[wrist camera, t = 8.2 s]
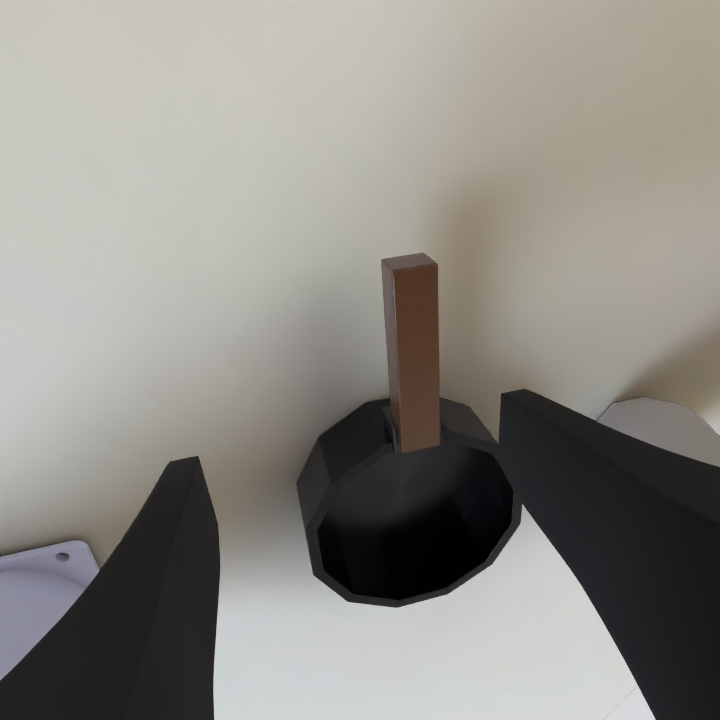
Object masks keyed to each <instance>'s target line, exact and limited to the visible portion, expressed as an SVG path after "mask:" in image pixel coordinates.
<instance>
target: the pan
mask: <svg viewBox="0 0 720 720" xmlns="http://www.w3.org/2000/svg"><path fill="white" fill-rule="evenodd" d="M381 266H382V282H383V297H384V312H385V328H386V343H387V358H388V374H389V389H390V398H388V399H383V400H378V401H373V402H368V403H365V404H363V405H362V406H361V407H359V408H358V409H356V410H355V411H354V412H352V413H351V414H350V415H348V416H347V417H346V418H344V419H343V420H341V421H340V422H339V423H337V424H336V425H335V426H333V427H332V428H330V429H329V430H328V431H326V432H325V433H324V434H322V435H321V436H320V437H319V438H318V439H317V441H316V444H315V446H314V448H313V450H312V452H311V454H310V456H309V458H308V460H307V462H306V464H305V466H304V468H303V470H302V472H301V474H300V476H299V479H298V481H297V484H296V485H297V491H298V496H299V501H300V507H301V512H302V518H303V523H304V529H305V534H306V539H307V545H308V550H309V555H310V560H311V566H312V571H313V574H314V576H315V577H317V578H318V579H319V580H321V581H322V582H323V583H324V584H326V585H327V586H328V587H330V588H331V589H332V590H333V591H335V592H336V593H337V594H339V595H340V596H341V597H342V598H344V599H345V600H346V601H348V602H354V603H362V604H370V605H379V606H387V607H395V608H396V607H397V608H398V607H401V606H405V605H409V604H413V603H416V602H420V601H424V600H427V599H431V598H435V597H439V596H442V595H446V594H448V593H450V592H452V591H453V590H455V589H456V588H458V587H459V586H461V585H462V584H464V583H465V582H466V581H468V580H469V579H471V578H472V577H474V576H475V575H477V574H478V573H480V572H481V571H483V570H484V569H486V568H487V567H489V566H490V565H492V564H493V562H494V561H495V560H496V558H497V557H498V555H499V554H500V552H501V551H502V549H503V548H504V547H505V545H506V544H507V542H508V541H509V539H510V538H511V536H512V535H513V533H514V532H515V531H516V529H517V528H518V526H519V525H520V523H521V511H522V502H521V501H520V499H519V498H518V497H517V495H516V493H515V492H514V490H513V488H512V486H511V485H510V483H509V481H508V479H507V477H506V475H505V473H504V472H503V470H502V468H501V466H500V464H499V462H498V445H499V444H498V443H497V441H496V440H495V439H494V438H493V436H492V435H491V434H490V433H489V431H488V430H487V429H486V427H485V426H484V425H483V424H482V422H481V421H480V420H479V418H478V417H477V416H476V415H475V413H474V412H473V411H472V409H471V408H470V407H469V406H466V405H463V404H459V403H456V402H453V401H450V400H447V399H443V398H440V397H439V323H438V264H437V263H436V262H435V261H433V260H432V259H431V258H430V257H429V256H427V255H426V254H425V253H419V254H412V255H406V256H399V257H393V258H386V259H382V260H381Z"/></svg>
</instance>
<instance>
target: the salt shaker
mask: <svg viewBox="0 0 720 720" xmlns="http://www.w3.org/2000/svg"><path fill="white" fill-rule="evenodd" d="M597 422H599V423H601V424H603V425H606V426H608V427H610V428H613V429H615V430H617V431H620V432H622V433H624V434H627V435H629V436H632V437H634V438H637V439H639V440H642V441H644V442H647V443H649V444H652V445H654V446H657V447H660V448H663V449H665V450H668V451H671V452H674V453H677V454H680V455H683V456H686V457H689V458H692V459H695V460H698V461H701V462H705V463H708V464H712V465H715V466H718V467H720V436H719V435H718V434H717V433H716V432H715V431H714V430H713V429H712V427H711V426H710V425H709V424H708V423H707V422H706V421H705V420H704V419H703V418H701V417H700V416H699V415H697V414H696V413H694V412H693V411H692V410H690V409H689V408H687V407H685V406H682V405H680V404H677V403H672V402H667V401H662V400H657V399H652V398H647V397H640V398H635V399H630V400H625V401H620V402H616V403H612V404H611V405H610V406H609V408H608V409H607V410H606V411H605V412H604V413H603V414H602V416H601V417H600V418H599V419H598V420H597Z"/></svg>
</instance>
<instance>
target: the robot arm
mask: <svg viewBox="0 0 720 720" xmlns="http://www.w3.org/2000/svg"><path fill="white" fill-rule="evenodd" d="M498 462H499V464H500V466H501V468H502V470H503V472H504V473H505V475H506V477H507V479H508V481H509V483H510V485H511V486H512V488H513V490H514V492H515V493H516V495H517V497H518V498H519V499H520V501H521V502H522V504H523V505H524V506H525V508H526V509H527V511H528V512H529V513H530V515H531V516H532V517H533V519H534V520H535V522H536V523H537V524H538V526H539V527H540V528H541V530H542V531H543V532H544V534H545V535H546V536H547V538H548V539H549V541H550V542H551V543H552V545H553V546H554V547H555V549H556V550H557V551H558V553H559V554H560V555H561V557H562V558H563V560H564V561H565V562H566V564H567V565H568V566H569V568H570V569H571V570H572V572H573V573H574V575H575V576H576V578H577V579H578V581H579V582H580V584H581V585H582V587H583V589H584V590H585V592H586V594H587V595H588V597H589V599H590V600H591V602H592V604H593V605H594V607H595V609H596V610H597V612H598V614H599V616H600V617H601V619H602V621H603V622H604V624H605V626H606V628H607V629H608V631H609V633H610V635H611V636H612V638H613V640H614V642H615V644H616V645H617V647H618V649H619V651H620V653H621V654H622V656H623V658H624V660H625V662H626V663H627V665H628V667H629V669H630V671H631V673H632V675H633V677H634V679H635V680H636V682H637V684H638V686H639V688H640V690H641V692H642V694H643V696H644V698H645V700H646V702H647V703H648V705H649V707H650V709H651V711H652V713H653V715H654V717H655V719H656V720H720V467H718V466H715V465H712V464H708V463H705V462H701V461H698V460H695V459H692V458H689V457H686V456H683V455H680V454H677V453H674V452H671V451H668V450H665V449H663V448H660V447H657V446H654V445H652V444H649V443H647V442H644V441H642V440H639V439H637V438H634V437H632V436H629V435H627V434H624V433H622V432H620V431H617V430H615V429H613V428H610V427H608V426H606V425H603V424H601V423H599V422H597V421H595V420H592V419H590V418H588V417H586V416H584V415H582V414H579V413H577V412H575V411H573V410H571V409H569V408H567V407H565V406H562V405H560V404H558V403H556V402H554V401H552V400H550V399H547V398H545V397H543V396H541V395H539V394H536V393H534V392H531V391H529V390H526V389H521V390H516V391H511V392H507V393H502V394H501V408H500V426H499V445H498ZM60 553H66V554H67V555H63V554H60ZM219 579H220V550H219V533H218V522H217V519H216V516H215V512H214V509H213V505H212V502H211V498H210V495H209V491H208V488H207V484H206V481H205V478H204V474H203V471H202V467H201V464H200V460H199V457H198V456H195V457H190V458H185V459H180V460H175V461H170V462H169V463H168V465H167V466H166V467H165V469H164V471H163V473H162V474H161V476H160V478H159V480H158V482H157V483H156V485H155V487H154V489H153V490H152V492H151V494H150V495H149V497H148V499H147V500H146V502H145V504H144V505H143V507H142V509H141V510H140V512H139V513H138V515H137V517H136V518H135V520H134V521H133V523H132V525H131V526H130V528H129V529H128V531H127V532H126V534H125V535H124V537H123V538H122V540H121V541H120V543H119V544H118V546H117V547H116V548H115V550H114V551H113V553H112V554H111V555H110V557H109V558H108V560H107V561H106V563H105V564H104V565H103V567H102V568H101V570H99V568H98V565H97V563H96V561H95V559H94V557H93V555H92V552H91V550H90V548H89V546H88V545H87V543H85V542H83V541H80V540H73V541H68V542H64V543H59V544H55V545H50V546H46V547H41V548H37V549H32V550H28V551H23V552H19V553H14V554H10V555H5V556H1V557H0V720H214V703H213V674H214V654H215V639H216V625H217V610H218V595H219Z"/></svg>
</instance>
